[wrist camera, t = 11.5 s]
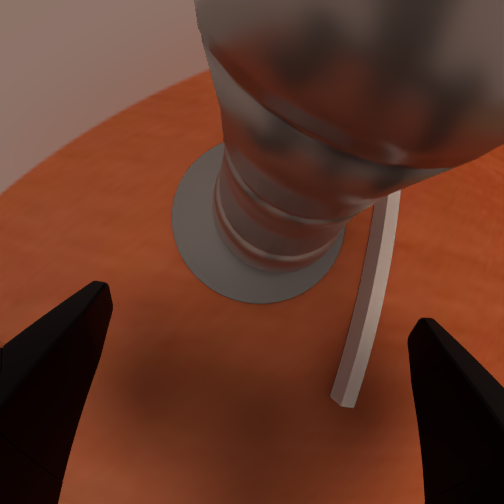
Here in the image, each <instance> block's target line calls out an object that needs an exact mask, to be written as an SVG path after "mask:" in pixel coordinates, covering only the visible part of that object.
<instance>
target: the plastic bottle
mask: <svg viewBox="0 0 504 504" xmlns="http://www.w3.org/2000/svg"><path fill="white" fill-rule="evenodd" d="M194 2H195V9H196V16H197V23H198V29H199V31H200V33H201V36H202V42H203V46H204V50H205V53H206V57H207V61H208V64H209V68H210V72H211V76H212V80H213V83H214V87H215V91H216V95H217V98H218V102H219V106H220V110H221V120H222V130H223V136H224V138H223V140H224V154H223V160H222V166H221V168H220V170H219V172H218V175H217V179H216V183H215V186H214V191H213V195H212V214H213V220H214V224H215V227H216V229H217V232H218V235H219V236H220V238H221V240H222V241H223V243H224V244H225V246H226V247H227V248H228V249H229V250H230V251H231V252H232V254H233V255H234V256H235V257H237V258H238V259H240V260H241V261H242V262H244V263H245V264H247V265H249V266H251V267H253V268H256V269H258V270H261V271H266V272H270V273H289V272H294V271H299V270H301V269H303V268H306V267H308V266H310V265H312V264H313V263H315V262H316V261H317V260H319V259H320V258H322V256H323V255H324V254H325V253H326V252H327V251H328V250H329V249H330V248H331V246H332V245H333V244H334V243H335V241H336V240H337V238H338V236H339V235H340V233H341V231H342V230H343V228H344V226H345V225H346V224H347V223H348V222H349V221H350V220H351V219H352V218H353V217H354V216H355V215H357V214H358V213H360V212H361V211H363V210H365V209H367V208H368V207H370V206H372V205H373V204H375V203H377V202H378V201H380V200H381V199H383V198H385V197H386V196H388V195H389V194H391V193H394V192H396V191H399V190H401V189H404V188H406V187H408V186H411V185H413V184H416V183H418V182H421V181H423V180H426V179H428V178H430V177H433V176H435V175H438V174H440V173H443V172H445V171H448V170H450V169H452V168H455V167H458V166H460V165H463V164H465V163H468V162H470V161H473V160H476V159H478V158H479V157H481V156H483V155H485V154H487V153H488V152H490V151H492V150H494V149H495V148H497V147H499V146H501V145H503V144H504V0H194Z"/></svg>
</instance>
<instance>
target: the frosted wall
mask: <svg viewBox="0 0 504 504" xmlns="http://www.w3.org/2000/svg"><path fill="white" fill-rule="evenodd" d="M400 193H401V190H399V191H396V192H394V193H391V194H389V195H388V196H386V197H385V198H383V199H381V200H380V201H378V202H377V203H375V204H374V210H373V217H372V223H371V229H370V235H369V240H368V246H367V251H366V256H365V261H364V266H363V271H362V276H361V281H360V285H359V290H358V294H357V299H356V303H355V307H354V311H353V316H352V320H351V324H350V328H349V332H348V335H347V339H346V343H345V347H344V350H343V354H342V357H341V361H340V364H339V368H338V371H337V375H336V378H335V381H334V385H333V388H332V391H331V394H330V397H331V398H332V399H333V400H334V401H335V402H336V403H337V404H339V405H340V406H342V407H349V408H354V406H355V403H356V400H357V397H358V394H359V391H360V388H361V385H362V381H363V378H364V375H365V371H366V368H367V364H368V361H369V357H370V353H371V350H372V346H373V342H374V338H375V334H376V330H377V326H378V322H379V318H380V313H381V309H382V304H383V300H384V295H385V290H386V285H387V280H388V275H389V269H390V264H391V258H392V252H393V246H394V240H395V233H396V226H397V218H398V211H399V202H400Z"/></svg>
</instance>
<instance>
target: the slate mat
mask: <svg viewBox="0 0 504 504" xmlns="http://www.w3.org/2000/svg"><path fill="white" fill-rule="evenodd" d="M223 154H224V143H221V144H219V145H217V146H215V147H213V148H212V149H210V150H208V151H207V152H205V153H204V154H203V155H202V156H200V157H199V158H198V159H197V160H196V161H195V162H194V163H193V164H192V165H191V167H190V168H189V169H188V170H187V172H186V173H185V175H184V176H183V178H182V180H181V182H180V184H179V186H178V188H177V191H176V194H175V197H174V202H173V208H172V227H173V234H174V238H175V242H176V245H177V247H178V250H179V252H180V254H181V256H182V258H183V260H184V262H185V263H186V265H187V266H188V267H189V269H190V270H191V271H192V273H193V274H194V275H195V276H196V277H197V278H198V279H199V280H200V281H201V282H203V283H204V284H205V285H207V286H208V287H209V288H211V289H212V290H214V291H216V292H217V293H219V294H221V295H223V296H226V297H228V298H231V299H233V300H237V301H241V302H246V303H255V304H261V303H274V302H280V301H284V300H287V299H290V298H293V297H295V296H297V295H300V294H302V293H304V292H305V291H307V290H308V289H310V288H311V287H313V286H314V285H315V284H316V283H318V282H319V281H320V280H321V279H322V278H323V277H324V276H325V275H326V273H327V272H328V271H329V270H330V268H331V267H332V265H333V264H334V262H335V260H336V258H337V256H338V254H339V252H340V249H341V246H342V243H343V238H344V232H345V226H344V228H343V230H342V231H341V233H340V235H339V236H338V238H337V240H336V241H335V243H334V244H333V245H332V246H331V248H330V249H329V250H328V251H327V252H326V253H325V254H324V255H323V256H322V258H320V259H319V260H317V261H316V262H315V263H313V264H312V265H310V266H308V267H306V268H303V269H301V270H299V271H294V272H289V273H270V272H266V271H261V270H258V269H256V268H253V267H251V266H249V265H247V264H245V263H244V262H242V261H241V260H240V259H238V258H237V257H235V256H234V255H233V254H232V252H231V251H230V250H229V249H228V248H227V247H226V246H225V244H224V243H223V241H222V240H221V238H220V236H219V235H218V232H217V229H216V227H215V224H214V220H213V214H212V195H213V191H214V186H215V183H216V179H217V175H218V172H219V170H220V168H221V166H222V160H223Z"/></svg>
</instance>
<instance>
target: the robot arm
mask: <svg viewBox="0 0 504 504" xmlns="http://www.w3.org/2000/svg"><path fill="white" fill-rule="evenodd" d="M112 311H113V303H112V298H111V294H110V289H109V285H108V284H107V283H106V282H100V281H93V282H91V283H90V284H88V285H87V286H85V287H84V288H82V289H81V290H79V291H78V292H76V293H75V294H74V295H72V296H71V297H69V298H68V299H66V300H65V301H64V302H62V303H61V304H59V305H58V306H56V307H55V308H54V309H52V310H51V311H49V312H48V313H47V314H45V315H44V316H43V317H41V318H40V319H38V320H37V321H36V322H34V323H33V324H32V325H30V326H29V327H28V328H26V329H25V330H24V331H22V332H21V333H20V334H18V335H17V336H16V337H14V338H13V339H12V340H10V341H9V342H8V343H6V344H5V345H4V346H3V348H2V347H1V348H0V504H58V501H59V496H60V492H61V487H62V483H63V482H62V481H63V478H64V474H65V470H66V466H67V462H68V458H69V455H70V451H71V447H72V444H73V440H74V437H75V433H76V430H77V427H78V423H79V420H80V417H81V414H82V410H83V407H84V404H85V401H86V398H87V395H88V392H89V389H90V386H91V383H92V380H93V377H94V375H95V372H96V369H97V366H98V363H99V360H100V357H101V353H102V350H103V345H104V341H105V337H106V334H107V330H108V326H109V322H110V319H111V315H112ZM408 351H409V361H410V372H411V383H412V390H413V397H414V403H415V409H416V415H417V422H418V430H419V438H420V446H421V455H422V466H423V478H424V494H425V504H504V388H503V387H502V386H501V384H500V383H499V382H498V381H497V380H496V379H495V378H494V377H493V376H492V375H491V374H490V373H489V372H488V371H487V370H486V369H485V368H484V367H483V366H482V365H481V364H480V363H479V362H478V361H477V360H476V359H475V358H474V357H473V356H472V355H471V354H470V353H469V352H468V351H467V350H466V349H465V348H464V347H463V346H462V345H461V344H460V343H459V342H457V341H456V340H455V339H454V338H453V337H452V336H451V335H450V334H449V333H448V332H447V331H446V330H445V329H444V328H443V327H442V326H441V325H439V324H438V323H437V322H436V321H435V320H434V319H432V318H421V319H419V320H418V322H417V324H416V325H415V327H414V328H413V330H412V331H411V333H410V335H409V337H408Z"/></svg>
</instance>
